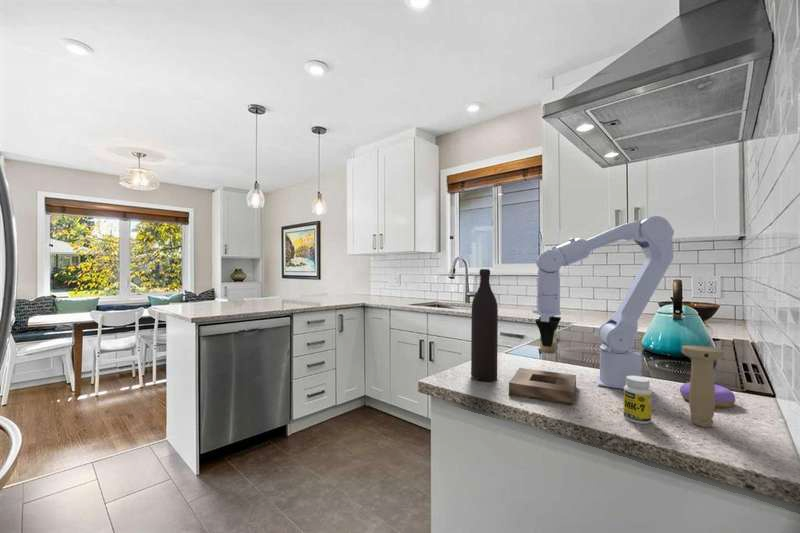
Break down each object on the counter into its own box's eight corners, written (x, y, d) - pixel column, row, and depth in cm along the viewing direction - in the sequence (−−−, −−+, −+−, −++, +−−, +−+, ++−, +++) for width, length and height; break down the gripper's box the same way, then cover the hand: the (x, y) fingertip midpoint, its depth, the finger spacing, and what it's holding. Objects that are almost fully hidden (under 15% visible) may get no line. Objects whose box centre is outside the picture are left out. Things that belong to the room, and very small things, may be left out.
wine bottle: (502, 377, 103) (502, 269, 103) (489, 383, 98) (489, 269, 98) (479, 372, 108) (480, 268, 108) (466, 377, 103) (466, 269, 103)
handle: (727, 432, 70) (728, 353, 70) (685, 426, 73) (685, 349, 73) (717, 422, 74) (718, 347, 74) (678, 417, 77) (679, 344, 77)
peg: (556, 351, 103) (556, 329, 103) (555, 354, 99) (555, 331, 99) (541, 349, 105) (541, 328, 105) (539, 352, 101) (539, 330, 101)
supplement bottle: (620, 419, 76) (620, 378, 76) (627, 412, 79) (627, 373, 79) (648, 426, 73) (648, 383, 73) (653, 419, 76) (654, 378, 76)
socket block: (576, 386, 96) (576, 375, 96) (572, 405, 83) (572, 392, 83) (519, 378, 102) (519, 367, 102) (508, 395, 90) (508, 382, 90)
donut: (718, 394, 90) (721, 375, 89) (743, 417, 81) (747, 397, 80) (671, 391, 92) (673, 373, 91) (690, 413, 83) (693, 394, 82)
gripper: (537, 292, 110) (537, 338, 110) (528, 296, 97) (528, 348, 98) (563, 293, 107) (563, 340, 107) (557, 297, 94) (557, 351, 94)
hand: (548, 344), depth 102 cm, fingers closed on peg, 4 cm apart
